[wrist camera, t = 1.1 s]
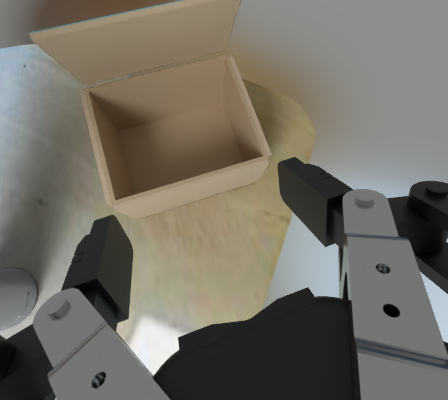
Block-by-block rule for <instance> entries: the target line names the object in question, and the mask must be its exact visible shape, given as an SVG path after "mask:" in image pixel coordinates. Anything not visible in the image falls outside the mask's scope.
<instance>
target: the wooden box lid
mask: <svg viewBox="0 0 448 400" xmlns="http://www.w3.org/2000/svg"><path fill="white" fill-rule="evenodd" d="M240 3H241V0H178V1H173V2H169V3H165V4H159V5H155V6H150V7H145V8H141V9H136V10H132V11H127V12H122V13H118V14H113V15H108V16H103V17H99V18H94V19H90V20H85V21H80V22H75V23H71V24H66V25H61V26H57V27H52V28H47V29H43V30H38V31H33V32H29V34H30V37H31V40H32V41H33V42H34V43H36V44H37V45H38V46H39V47H40V48H41V49H43V50H44V51H45V52H46V53H47V54H49V55H50V56H51V57H52V58H53V59H54V60H56V61H57V62H58V63H59V64H60V65H62V66H63V67H64V68H65V69H66V70H67V71H69V72H70V73H71V74H72V75H73V76H74V77H76V78H77V79H78V80H79V81H80V82H82V83H83V84H84V85H86V84H90V83H94V82H98V81H102V80H106V79H110V78H114V77H118V76H123V75H127V74H131V73H135V72H138V71H143V70H147V69H151V68H156V67H160V66H164V65H168V64H172V63H176V62H180V61H184V60H188V59H192V58H196V57H200V56H205V55H209V54H213V53H217V52H221V51H225V49H226V46H227V43H228V40H229V37H230V34H231V31H232V28H233V25H234V22H235V18H236V15H237V12H238V9H239V6H240Z"/></svg>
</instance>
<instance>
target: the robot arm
mask: <svg viewBox="0 0 448 400" xmlns="http://www.w3.org/2000/svg"><path fill="white" fill-rule="evenodd" d="M278 176H279V187H280V194H281V197H282V199H283V201H284V202H285V204H286V205H287V206H288V207H289V208H290V209H291V210H292V211H293V212H294V213H295V214H296V216H297V217H298V218H299V219H300V220H301V221H302V222H303V223H304V224H305V225H306V226H307V228H308V229H309V230H311V232H312V233H313V234H314V235H315V236H316V237H317V238H318V240H319V241H320V242H321V243H322V244H323V245H324V246H325V247H327V246H329V245H332V244H334V243H336V244H337V245H338V246H339V249H338V250H339V251H338V259H339V260H338V262H339V298H336V297H328V296H321V297H320V296H318V297H314V295H313V294H312V292H311V291H310V289H309V288H305V289H302V290H300V291H297V292H295V293H292V294H289V295H287V296H284V297H282V298H279V299H277V300H276V301H274V302H273V303H272V304H270V305H269V306H267V307H266V308H265V309H263V310H262V311H260V312H259V313H258V314H256V315H255V316H254V317H252V318H251V319H249V320H245V321H238V322H229V323H221V324H212V325H209V326H207V327H204V328H201V329H199V330H196V331H194V332H191V333H188V334H186V335H183V336H181V337H178V340H179V349H180V350H178V351H177V352H175V353H174V354H173V355H172V356H171V357H170V358H169V359H167V361H166V362H165V363H164V364H163V365H162V366H161V367H160V368H159V370H158V371H157V372H156V374H155V375H154V376H153V375H152V373H151V372H150V371H149V370H148V369H147V368H146V366H145V365H144V364H143V363H142V362H141V361H140V359H139V358H138V357H137V356H136V355H135V353H134V352H133V351H132V350H131V349H130V348H129V346H128V345H127V344H126V343H125V342H124V340H123V339H122V338H121V337H120V336H119V335H118V333H117V332H116V328H117V323H118V322H121V321H124V320H127V319H128V318H129V304H130V290H131V276H132V262H133V249H132V245H131V242H130V240H129V239H128V237H127V235H126V233H125V232H124V230H123V228H122V227H121V225H120V223H119V221H118V220H117V218H116V217H115V216H114V215H110V216H107V217H104V218H101V219H98V220H95V221H94V223H93V226H92V229H91V232H90V234H89V235H86V236H85V237H84V238H83V239H82V240H81V242H80V243H79V244H78V245H77V248H76V251H75V254H74V257H73V259H72V262H71V263H72V264H71V265H70V267H69V270H68V273H67V276H66V278H65V281H64V284H63V287H62V289H61V292H59V293H57V294H55V295H54V296H52V297H51V298H49V299H48V300H47V301H46V302H45V303H44V304H43V305H42V306H41V307H40V309H39V310H38V311H37V313H36V315H35V317H34V320H33V324H32V325H30V326H28V327H26V328H25V329H23V330H21V331H20V332H18V333H16V334H15V335H13V336H11V337H10V338H8V339H5V338H4V337H2V336H1V335H0V400H55V398H57V400H448V343H446V342H444V341H443V339H442V336H441V334H440V330H439V327H438V325H437V322H436V319H435V316H434V313H433V310H432V307H431V304H430V301H429V298H428V295H427V292H426V289H425V286H424V283H423V280H422V277H421V274H420V272H422V273H423V274H424V275H425V276H426V277H428V278H429V279H430V280H431V281H433V282H434V283H435V284H436V285H437V286H439V287H440V288H441V289H442V290H443V291H445V292H446V293H447V294H448V243H447V242H446V241H447V238H448V183H444V182H438V181H423V182H419V183H416V184H414V185H412V187H411V189H410V193H409V196H404V197H396V198H386V197H385V196H384V195H383V194H381V193H379V192H377V191H373V190H367V189H357V190H353V189H352V188H350V187H349V186H347V185H346V184H344V183H343V182H341V181H339V180H338V179H337V178H335V177H333V176H332V175H331V174H329V173H326V171H325V170H323V169H321V168H320V167H318V166H315V165H311V164H304V163H303V162H301V161H300V160H299V159H297V158H296V157H293V158H290V159H287V160H284V161H280V162H279V163H278ZM36 298H37V288H36V284H35V281H34V279H33V278H32V277H31V275H29V274H28V273H27V272H25V271H23V270H21V269H16V268H7V269H0V331H2V330H4V329H7V328H10V327H12V326H15V325H17V324H19V323H20V322H21V321H23V320H24V319H25V318H26V317H27V316H28V315H29V314H30V312H31V311H32V309H33V307H34V305H35V302H36Z"/></svg>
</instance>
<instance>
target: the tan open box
mask: <svg viewBox="0 0 448 400" xmlns="http://www.w3.org/2000/svg"><path fill="white" fill-rule="evenodd" d="M83 90H84V92H82V93H80V96H81V100H82V104H83V109H84V113H85V117H86V121H87V125H88V129H89V133H90V138H91V142H92V146H93V150H94V154H95V158H96V163H97V167H98V171H99V175H100V179H101V183H102V188H103V192H104V196H105V200H106V204H108V205H110V206H112V207H114V210H116V211H118V212H120V213H122V214H125V215H127V216H129V217H131V218H134V219H141V218H144V217H147V216H150V215H154V214H157V213H160V212H163V211H166V210H170V209H173V208H176V207H179V206H182V205H186V204H189V203H192V202H195V201H198V200H202V199H205V198H208V197H211V196H214V195H218V194H221V193H224V192H227V191H230V190H234V189H237V188H240V187H243V186H246V185H250V184H253V183H255V182H258V180H259V179H260V177H261V175H262V174H263V172H264V171H265V169H266V167H267V166H268V164H269V161H268V160H269V158H270V157H271V155H272V153H271V151H270V148H269V146H268V143H267V141H266V138H265V136H264V133H263V131H262V128H261V125H260V123H259V120H258V118H257V115H256V113H255V110H254V108H253V105H252V103H251V100H250V98H249V95H248V93H247V90H246V87H245V85H244V82H243V80H242V77H241V75H240V73H239V70H238V67H237V65H236V62H235V60H234V57H233V56H229V55H228V54H225V55H221V56H217V57H212V58H208V59H204V60H200V61H197V62H192V63H188V64H184V65H180V66H176V67H172V68H168V69H164V70H159V71H156V72H151V73H147V74H143V75H139V76H135V77H131V78H127V79H123V80H118V81H114V82H110V83H106V84H102V85H98V86H94V87H90V88H86V89H83Z"/></svg>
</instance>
